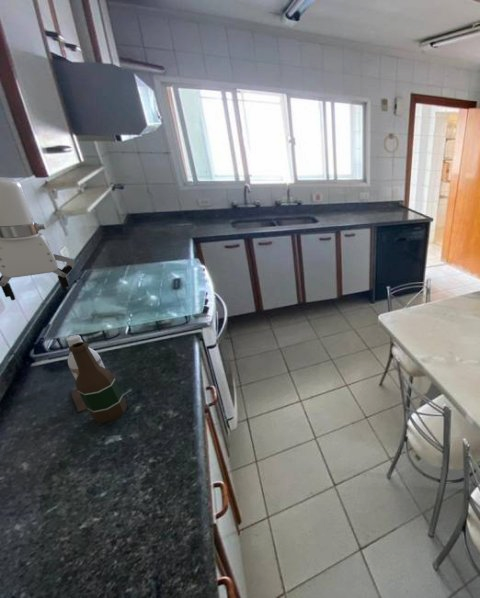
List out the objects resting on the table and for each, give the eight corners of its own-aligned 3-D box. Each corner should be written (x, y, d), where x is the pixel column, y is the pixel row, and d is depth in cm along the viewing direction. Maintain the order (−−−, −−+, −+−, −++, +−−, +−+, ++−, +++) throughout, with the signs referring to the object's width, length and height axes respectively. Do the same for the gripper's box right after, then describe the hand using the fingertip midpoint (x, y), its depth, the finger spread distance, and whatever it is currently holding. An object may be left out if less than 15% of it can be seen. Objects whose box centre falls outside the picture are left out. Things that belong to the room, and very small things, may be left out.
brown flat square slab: (78, 412, 95) (78, 411, 94) (70, 392, 101) (70, 391, 101) (129, 392, 103) (129, 391, 103) (119, 375, 110) (118, 374, 110)
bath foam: (80, 393, 101) (52, 339, 92) (108, 381, 106) (83, 328, 97) (90, 402, 98) (61, 347, 89) (117, 389, 103) (93, 335, 94)
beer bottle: (109, 403, 98) (76, 335, 88) (134, 404, 98) (105, 337, 88) (86, 423, 91) (47, 352, 81) (113, 424, 91) (78, 354, 81)
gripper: (61, 224, 89) (80, 282, 96) (-42, 231, 77) (-11, 297, 84) (66, 230, 85) (85, 290, 92) (-42, 238, 73) (-10, 307, 80)
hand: (39, 293), depth 88 cm, fingers open, 9 cm apart
